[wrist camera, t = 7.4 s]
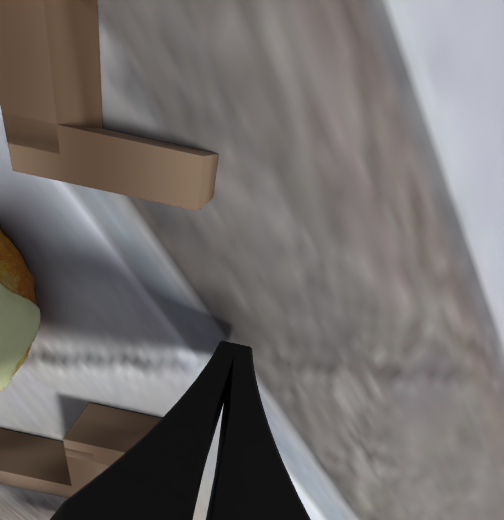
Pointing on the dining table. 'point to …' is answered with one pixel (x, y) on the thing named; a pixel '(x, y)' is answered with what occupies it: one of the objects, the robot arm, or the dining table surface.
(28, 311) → the decorated donut
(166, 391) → the dining table surface
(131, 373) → the dining table surface
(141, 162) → the frame
